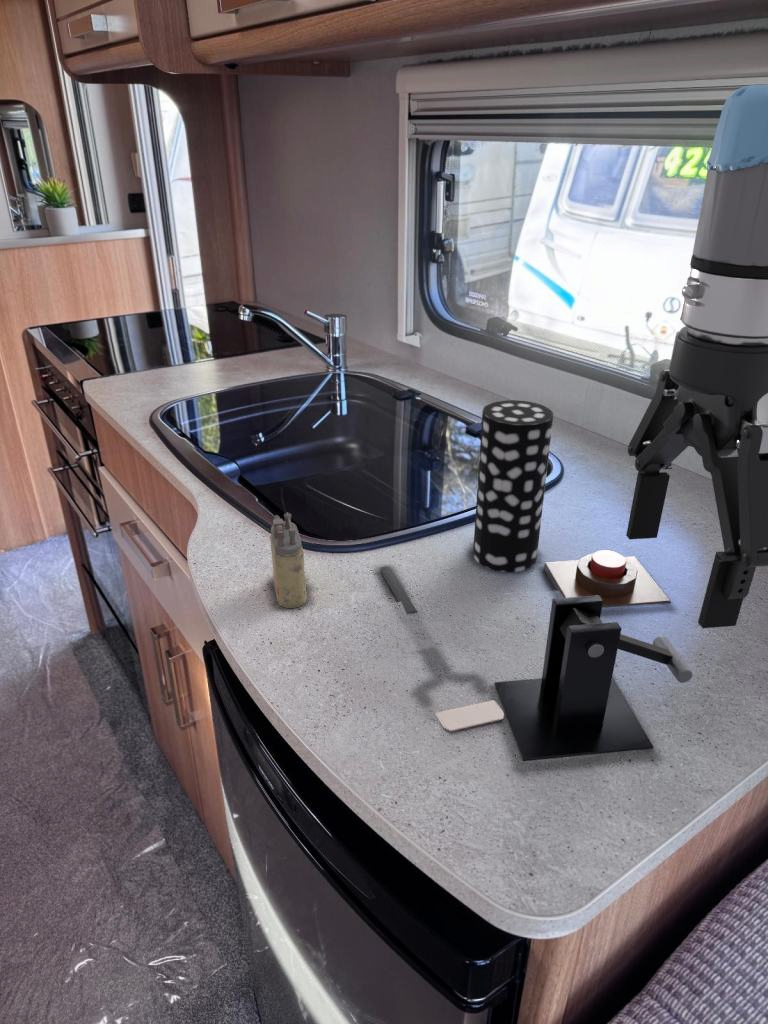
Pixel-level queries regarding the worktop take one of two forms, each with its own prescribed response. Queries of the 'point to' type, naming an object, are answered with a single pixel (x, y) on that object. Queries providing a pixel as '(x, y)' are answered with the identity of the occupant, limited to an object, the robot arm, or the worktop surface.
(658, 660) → the lever
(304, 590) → the lighter
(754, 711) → the worktop surface
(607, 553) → the button
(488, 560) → the white-spotted black cylinder
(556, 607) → the bracket
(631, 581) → the button block
